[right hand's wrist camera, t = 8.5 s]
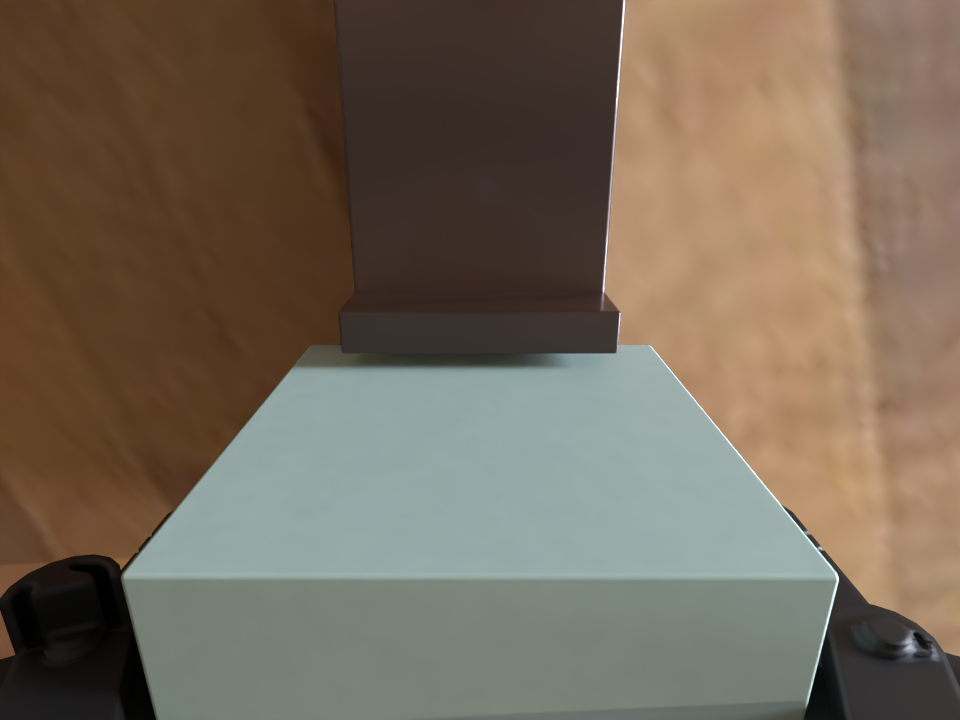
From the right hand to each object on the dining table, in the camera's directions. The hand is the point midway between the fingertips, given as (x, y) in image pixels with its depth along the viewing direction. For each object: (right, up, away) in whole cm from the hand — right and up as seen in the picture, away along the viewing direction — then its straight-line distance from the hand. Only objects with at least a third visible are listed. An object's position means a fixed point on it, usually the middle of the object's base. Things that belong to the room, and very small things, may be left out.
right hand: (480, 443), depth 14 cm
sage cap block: (0, 0, -1) cm, 1 cm away
